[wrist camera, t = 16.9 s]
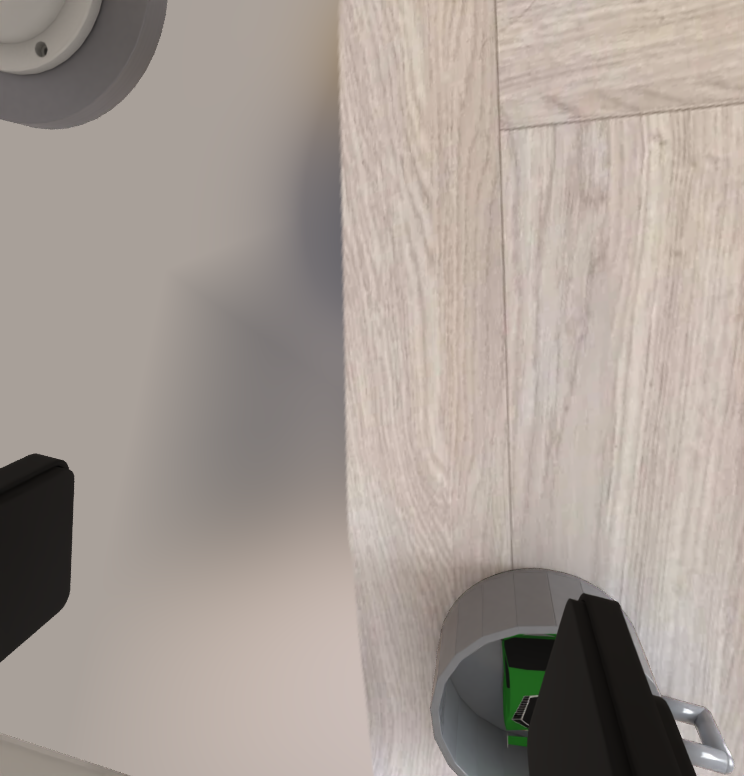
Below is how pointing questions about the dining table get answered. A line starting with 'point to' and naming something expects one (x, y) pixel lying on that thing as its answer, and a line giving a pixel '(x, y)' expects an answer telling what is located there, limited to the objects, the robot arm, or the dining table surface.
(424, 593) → the dining table surface
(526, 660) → the toy car
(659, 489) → the dining table surface
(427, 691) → the dining table surface
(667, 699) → the measuring cup
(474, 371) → the dining table surface
